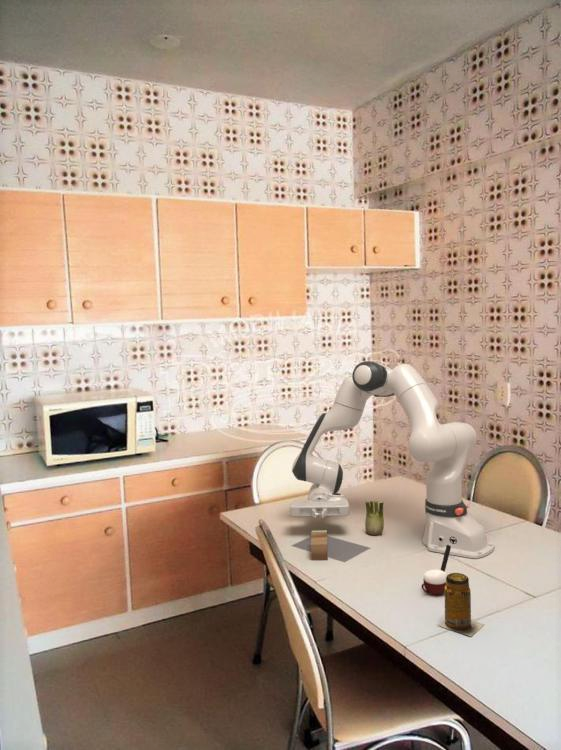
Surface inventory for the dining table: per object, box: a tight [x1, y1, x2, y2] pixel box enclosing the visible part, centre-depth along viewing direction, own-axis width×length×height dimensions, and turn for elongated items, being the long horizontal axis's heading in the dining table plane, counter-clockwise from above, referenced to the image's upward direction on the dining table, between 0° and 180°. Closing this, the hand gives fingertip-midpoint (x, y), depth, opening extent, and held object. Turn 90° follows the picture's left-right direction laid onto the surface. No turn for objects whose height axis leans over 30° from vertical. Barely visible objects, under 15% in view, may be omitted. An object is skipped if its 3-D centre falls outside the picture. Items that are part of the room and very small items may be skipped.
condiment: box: [437, 572, 485, 637], centre depth 145 cm, size 7×8×12 cm
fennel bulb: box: [364, 500, 385, 537], centre depth 206 cm, size 6×5×12 cm
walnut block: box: [310, 529, 329, 561], centre depth 192 cm, size 5×5×12 cm
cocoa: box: [421, 545, 451, 596], centre depth 162 cm, size 10×6×12 cm, turn 93°
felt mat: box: [291, 535, 371, 563], centre depth 197 cm, size 22×14×1 cm, turn 47°
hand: (319, 516), depth 199 cm, fingers closed
